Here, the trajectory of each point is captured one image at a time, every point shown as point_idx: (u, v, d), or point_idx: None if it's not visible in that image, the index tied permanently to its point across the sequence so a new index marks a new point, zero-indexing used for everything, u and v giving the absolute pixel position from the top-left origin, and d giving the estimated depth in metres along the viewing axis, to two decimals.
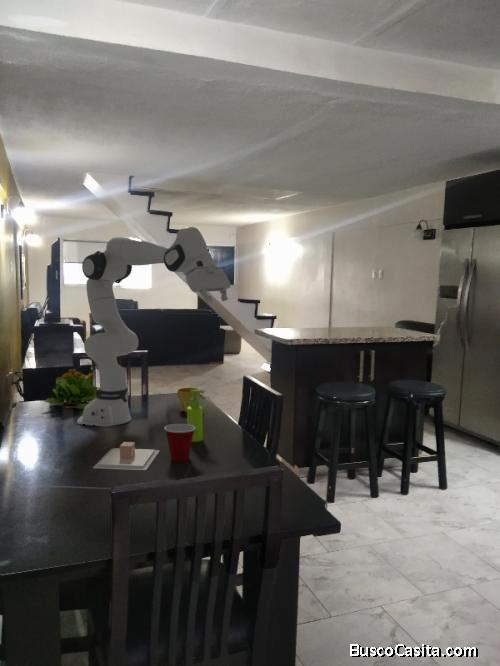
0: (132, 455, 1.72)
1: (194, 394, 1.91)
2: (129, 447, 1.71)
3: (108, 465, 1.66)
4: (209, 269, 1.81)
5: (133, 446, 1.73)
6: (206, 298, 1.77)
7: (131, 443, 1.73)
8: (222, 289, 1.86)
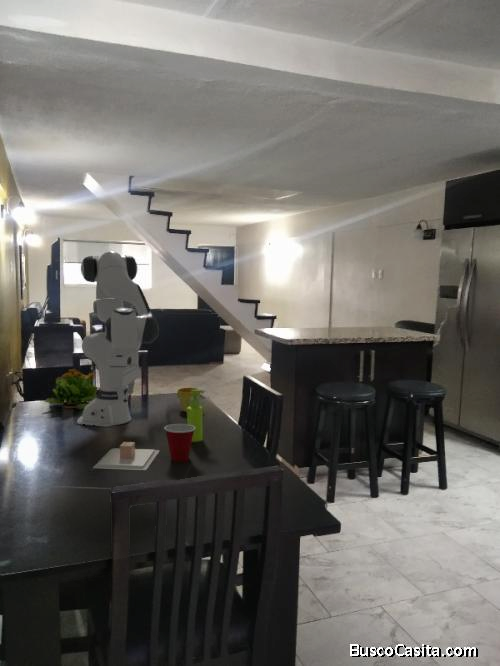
0: (132, 455, 1.72)
1: (194, 394, 1.91)
2: (129, 447, 1.71)
3: (108, 465, 1.66)
4: (132, 364, 1.68)
5: (133, 446, 1.73)
6: (120, 396, 1.65)
7: (131, 443, 1.73)
8: None
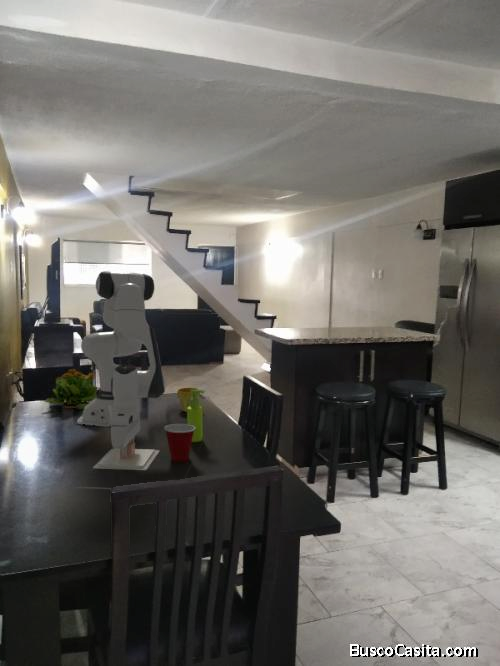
0: (132, 455, 1.72)
1: (194, 394, 1.91)
2: (129, 447, 1.71)
3: (108, 465, 1.66)
4: (134, 421, 1.70)
5: (133, 446, 1.73)
6: (123, 451, 1.69)
7: (131, 443, 1.73)
8: None
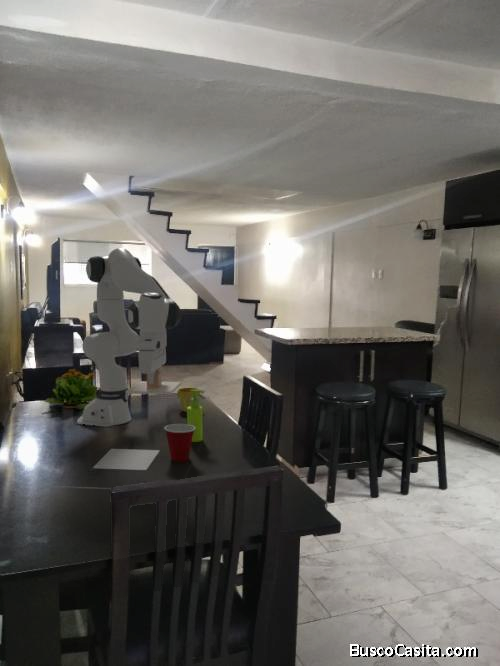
0: (159, 384, 1.69)
1: (194, 394, 1.91)
2: (156, 375, 1.68)
3: (135, 392, 1.63)
4: (161, 349, 1.67)
5: (160, 375, 1.70)
6: (150, 379, 1.66)
7: (158, 372, 1.70)
8: (157, 367, 1.72)
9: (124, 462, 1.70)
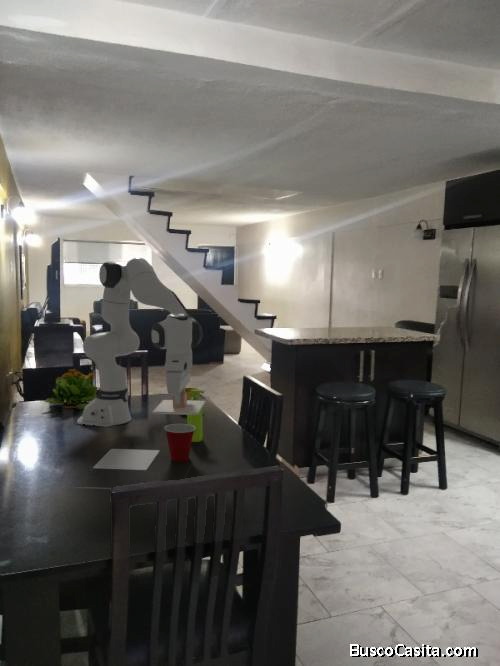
0: (185, 404, 1.71)
1: (194, 394, 1.91)
2: (182, 395, 1.69)
3: (162, 412, 1.65)
4: (187, 369, 1.69)
5: (185, 395, 1.72)
6: (176, 399, 1.68)
7: (183, 392, 1.72)
8: None
9: (124, 462, 1.70)
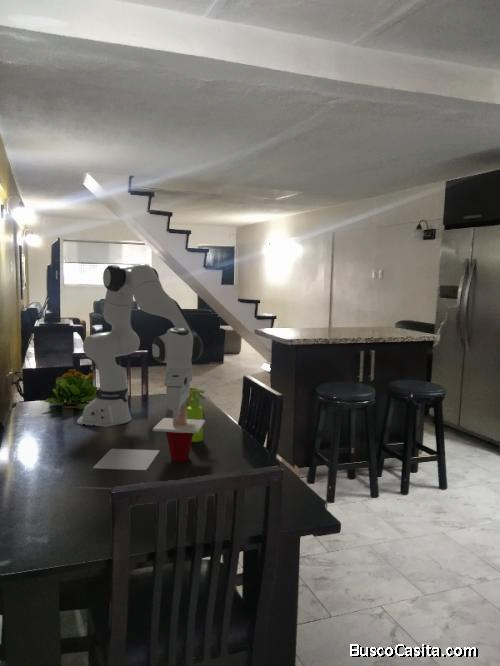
0: (185, 422, 1.72)
1: (194, 394, 1.91)
2: (183, 414, 1.70)
3: (162, 430, 1.65)
4: (187, 384, 1.69)
5: (186, 414, 1.73)
6: (175, 415, 1.67)
7: (184, 410, 1.73)
8: None
9: (124, 462, 1.70)
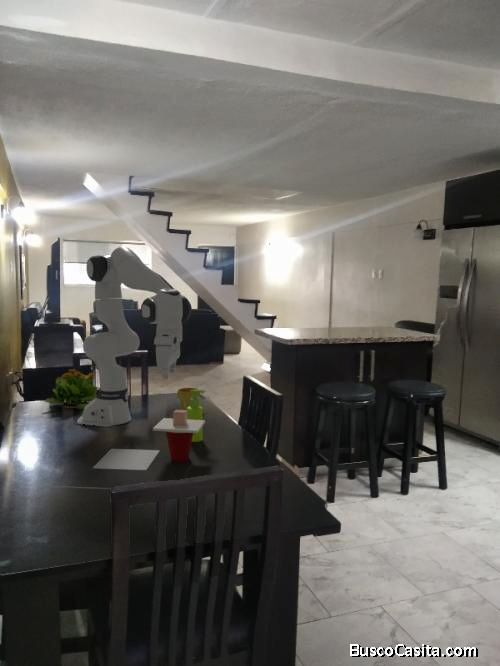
0: (185, 422, 1.72)
1: (194, 394, 1.91)
2: (183, 413, 1.70)
3: (162, 429, 1.65)
4: (176, 344, 1.72)
5: (186, 414, 1.73)
6: (164, 374, 1.70)
7: (184, 410, 1.73)
8: None
9: (124, 462, 1.70)
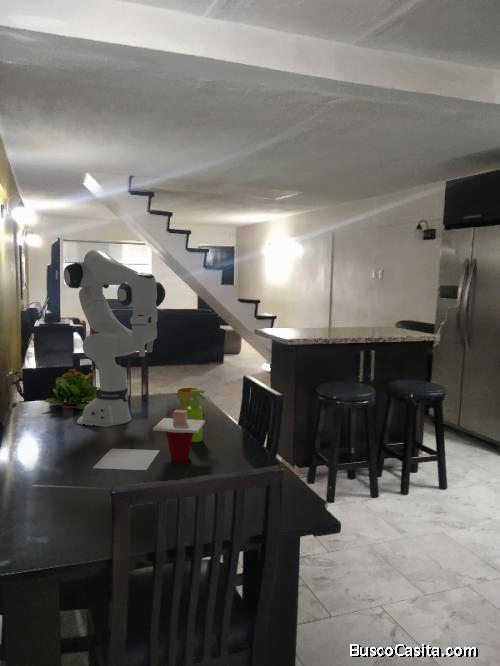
0: (185, 422, 1.72)
1: (194, 394, 1.91)
2: (183, 413, 1.70)
3: (162, 429, 1.66)
4: (152, 324, 1.84)
5: (186, 414, 1.73)
6: (141, 352, 1.81)
7: (184, 410, 1.73)
8: (150, 340, 1.91)
9: (124, 462, 1.70)
